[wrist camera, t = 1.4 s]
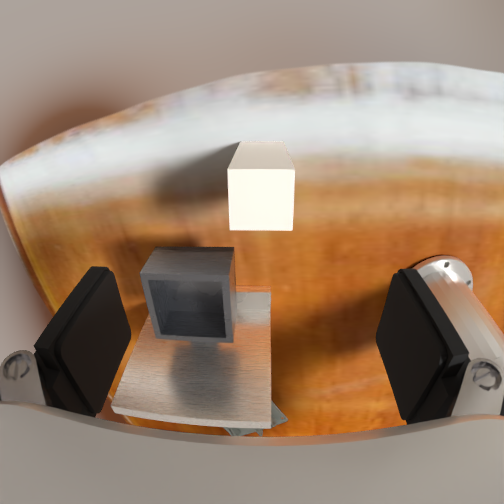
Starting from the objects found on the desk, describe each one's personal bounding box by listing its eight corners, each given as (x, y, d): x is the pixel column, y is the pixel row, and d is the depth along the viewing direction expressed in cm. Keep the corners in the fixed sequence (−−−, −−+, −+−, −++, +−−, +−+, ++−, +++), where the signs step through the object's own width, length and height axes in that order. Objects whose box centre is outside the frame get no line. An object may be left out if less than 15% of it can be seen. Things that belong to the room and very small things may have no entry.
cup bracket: (269, 325, 38) (269, 440, 24) (160, 321, 39) (122, 425, 25) (272, 224, 32) (276, 336, 18) (140, 224, 32) (67, 322, 18)
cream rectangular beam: (283, 182, 30) (292, 230, 20) (241, 182, 30) (229, 230, 20) (283, 141, 28) (294, 169, 18) (240, 141, 28) (227, 169, 18)
